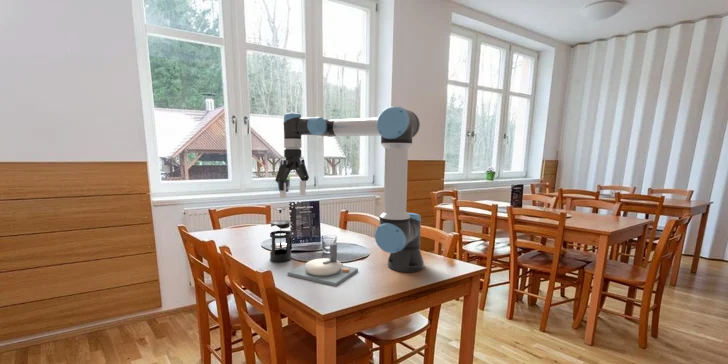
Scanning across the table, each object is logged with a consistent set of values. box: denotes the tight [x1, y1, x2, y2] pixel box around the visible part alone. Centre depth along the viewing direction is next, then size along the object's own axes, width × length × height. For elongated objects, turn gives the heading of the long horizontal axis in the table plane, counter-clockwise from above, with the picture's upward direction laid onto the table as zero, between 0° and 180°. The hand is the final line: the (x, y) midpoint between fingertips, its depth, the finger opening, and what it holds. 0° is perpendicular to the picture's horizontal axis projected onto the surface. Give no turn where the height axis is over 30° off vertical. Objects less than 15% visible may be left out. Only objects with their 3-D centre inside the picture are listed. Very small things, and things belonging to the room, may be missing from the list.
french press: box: [269, 207, 293, 264], centre depth 146 cm, size 12×9×23 cm
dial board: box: [287, 262, 359, 287], centre depth 131 cm, size 22×18×2 cm
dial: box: [306, 243, 341, 276], centre depth 130 cm, size 14×14×9 cm
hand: (293, 196), depth 147 cm, fingers open, 13 cm apart
